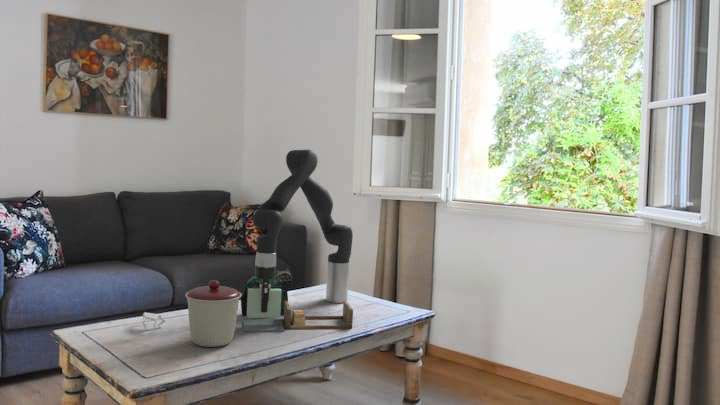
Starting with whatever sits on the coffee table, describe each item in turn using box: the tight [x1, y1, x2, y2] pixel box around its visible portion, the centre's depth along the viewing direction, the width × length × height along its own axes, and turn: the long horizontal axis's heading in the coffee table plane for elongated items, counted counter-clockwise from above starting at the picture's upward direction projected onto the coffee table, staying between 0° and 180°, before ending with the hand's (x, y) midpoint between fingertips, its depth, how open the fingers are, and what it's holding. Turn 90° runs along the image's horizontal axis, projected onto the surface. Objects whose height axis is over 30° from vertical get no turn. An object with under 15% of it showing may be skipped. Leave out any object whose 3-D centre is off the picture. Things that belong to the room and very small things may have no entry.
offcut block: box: [291, 309, 306, 326], centre depth 241 cm, size 8×4×4 cm, turn 12°
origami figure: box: [142, 311, 167, 334], centre depth 225 cm, size 12×8×5 cm
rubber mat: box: [242, 318, 285, 333], centre depth 235 cm, size 14×14×1 cm
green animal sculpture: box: [240, 265, 293, 317], centre depth 250 cm, size 20×6×20 cm, turn 108°
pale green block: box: [246, 288, 282, 319], centre depth 234 cm, size 3×12×10 cm, turn 102°
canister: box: [184, 279, 242, 348], centre depth 212 cm, size 18×18×21 cm
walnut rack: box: [283, 300, 354, 330], centre depth 242 cm, size 14×24×7 cm, turn 102°
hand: (263, 310), depth 235 cm, fingers closed on pale green block, 3 cm apart
